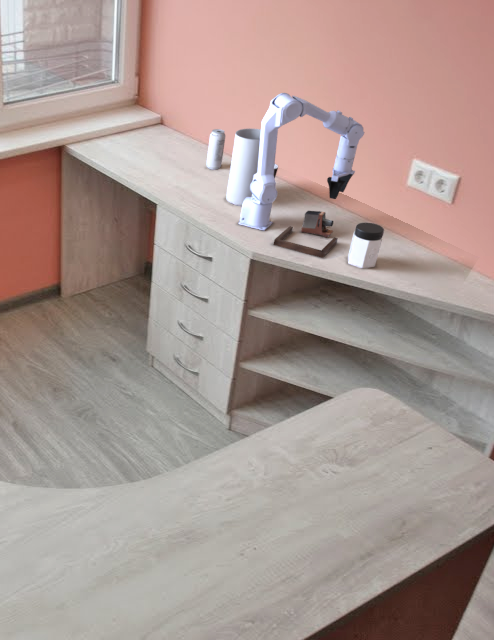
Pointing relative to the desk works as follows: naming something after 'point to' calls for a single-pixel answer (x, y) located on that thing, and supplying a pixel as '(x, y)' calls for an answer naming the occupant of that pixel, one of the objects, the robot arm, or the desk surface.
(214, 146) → the energy drink can
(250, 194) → the cylinder vase
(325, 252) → the frame
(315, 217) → the electronic device
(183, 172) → the desk surface
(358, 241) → the jar
